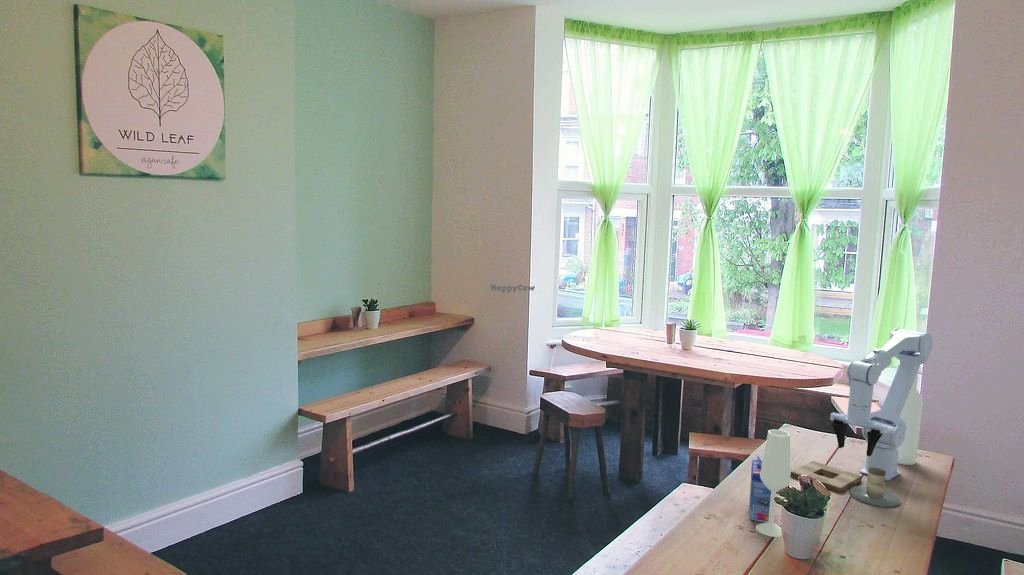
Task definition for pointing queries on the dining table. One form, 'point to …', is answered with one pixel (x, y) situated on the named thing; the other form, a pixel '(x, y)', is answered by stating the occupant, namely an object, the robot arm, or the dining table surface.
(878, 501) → the disc
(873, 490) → the small jar
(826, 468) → the socket block
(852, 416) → the robot arm
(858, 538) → the dining table surface
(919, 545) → the dining table surface
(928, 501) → the dining table surface
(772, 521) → the champagne flute
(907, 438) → the bottle
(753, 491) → the ink cartridge box
